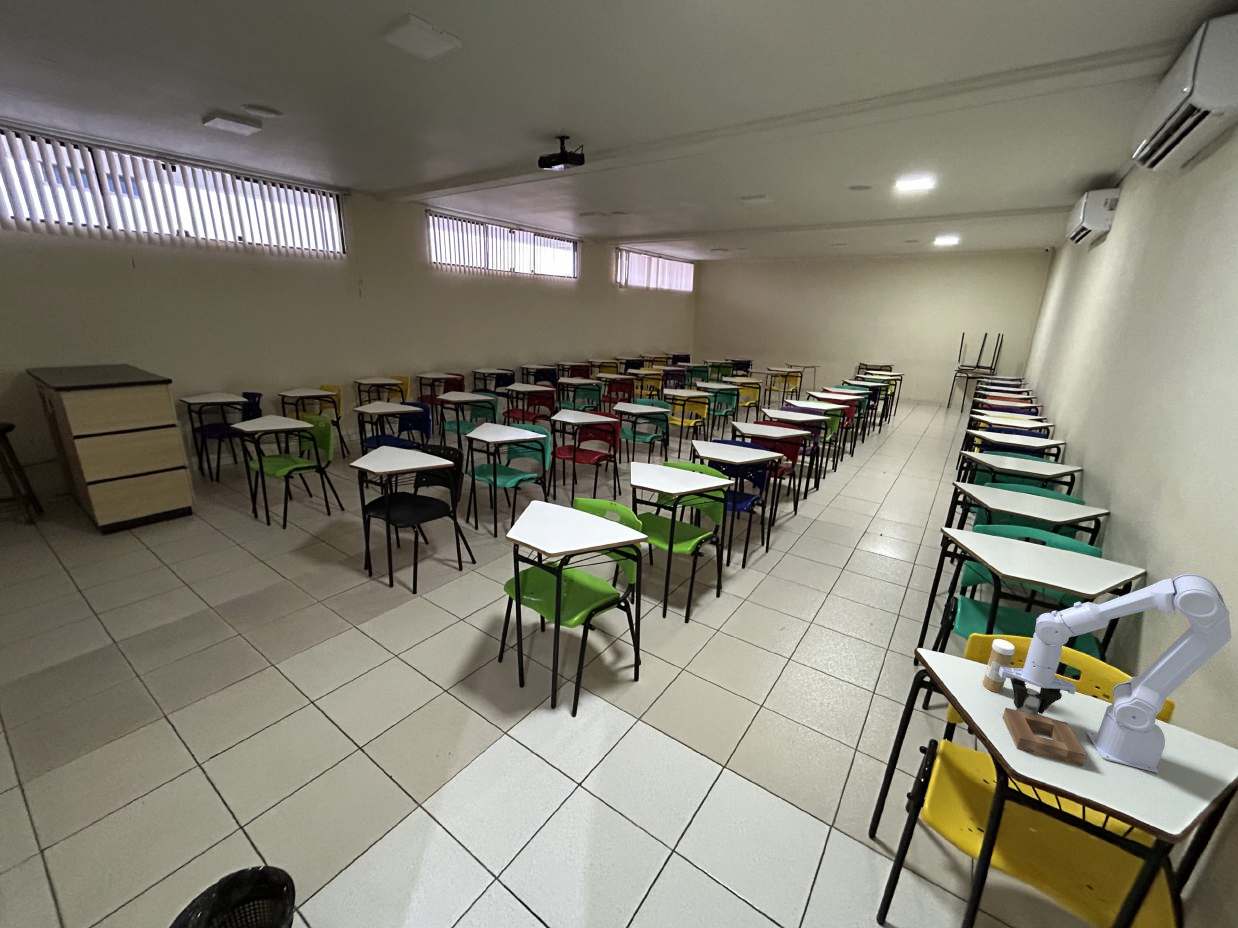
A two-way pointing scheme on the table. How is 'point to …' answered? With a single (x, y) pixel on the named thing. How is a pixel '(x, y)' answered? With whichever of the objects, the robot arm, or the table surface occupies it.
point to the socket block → (1058, 748)
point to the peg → (1031, 702)
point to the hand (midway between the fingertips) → (1027, 708)
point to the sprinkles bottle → (998, 664)
